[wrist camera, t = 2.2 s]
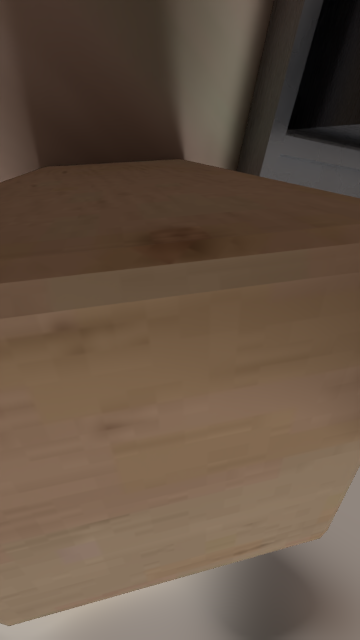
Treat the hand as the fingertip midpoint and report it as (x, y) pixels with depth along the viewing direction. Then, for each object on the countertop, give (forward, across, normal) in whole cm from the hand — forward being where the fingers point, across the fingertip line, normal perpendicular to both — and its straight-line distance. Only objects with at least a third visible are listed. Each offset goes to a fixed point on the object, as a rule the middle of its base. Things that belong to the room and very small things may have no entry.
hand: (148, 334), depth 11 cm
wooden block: (+14, 0, 0) cm, 14 cm away
